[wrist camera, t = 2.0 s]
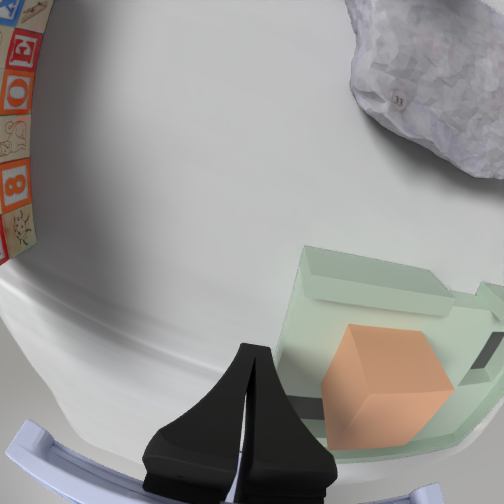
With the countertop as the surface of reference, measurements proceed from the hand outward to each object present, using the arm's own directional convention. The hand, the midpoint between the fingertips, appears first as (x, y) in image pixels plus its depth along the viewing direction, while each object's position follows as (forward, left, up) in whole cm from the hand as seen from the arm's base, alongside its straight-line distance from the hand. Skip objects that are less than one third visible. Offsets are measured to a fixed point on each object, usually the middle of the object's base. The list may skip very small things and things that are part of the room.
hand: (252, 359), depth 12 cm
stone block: (+16, -7, -3) cm, 18 cm away
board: (-3, -11, -3) cm, 12 cm away
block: (0, -6, -1) cm, 6 cm away
